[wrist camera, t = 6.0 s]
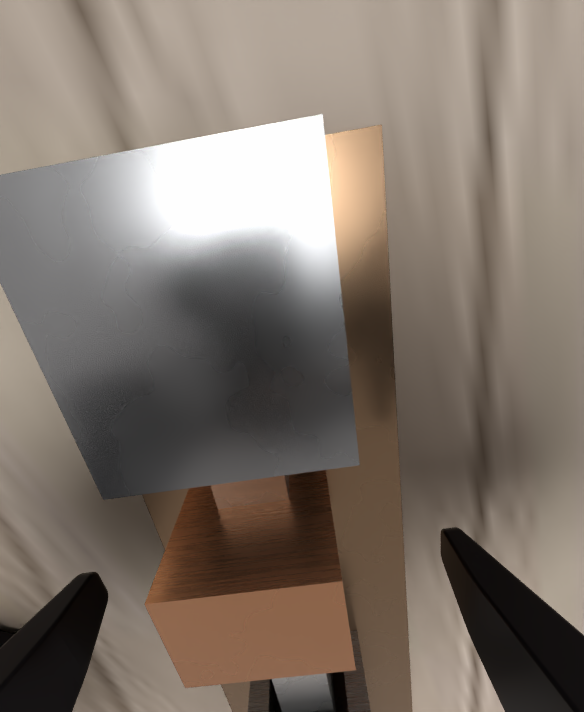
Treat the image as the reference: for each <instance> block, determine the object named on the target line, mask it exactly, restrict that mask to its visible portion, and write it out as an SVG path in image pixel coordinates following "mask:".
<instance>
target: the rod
mask: <svg viewBox="0 0 584 712" xmlns="http://www.w3.org/2000/svg"><path fill="white" fill-rule="evenodd" d="M145 606H146V609H147V611H148V613H149V615H150V617H151V619H152V621H153V623H154V625H155V627H156V629H157V631H158V633H159V635H160V637H161V639H162V641H163V643H164V645H165V647H166V649H167V651H168V653H169V656H170V658H171V660H172V662H173V664H174V666H175V668H176V670H177V672H178V674H179V676H180V678H181V680H182V682H183V684H184V686H185V688H189V687H199V686H209V685H218V684H228V683H238V682H247V681H257V680H267V679H272V682H273V685H274V688H275V691H276V694H277V698H278V701H279V704H280V707H281V710H282V712H336V705H335V695H334V685H333V674H332V673H334V672H344V671H353V670H356V667H355V661H354V654H353V647H352V641H351V634H350V627H349V621H348V614H347V608H346V601H345V594H344V588H343V581H342V574H341V568H340V561H339V554H338V548H337V541H336V535H335V528H334V521H333V515H332V508H331V502H330V495H329V489H328V482H327V476H326V470H321V471H313V472H306V473H299V474H291V475H284V476H276V477H269V478H261V479H254V480H246V481H239V482H232V483H224V484H217V485H209V486H202V487H194V488H189V489H188V492H187V495H186V497H185V500H184V503H183V505H182V508H181V510H180V513H179V516H178V518H177V521H176V523H175V526H174V529H173V531H172V534H171V536H170V539H169V542H168V544H167V547H166V550H165V552H164V555H163V557H162V560H161V563H160V565H159V568H158V570H157V573H156V576H155V578H154V581H153V584H152V586H151V589H150V591H149V594H148V597H147V599H146V602H145Z"/></svg>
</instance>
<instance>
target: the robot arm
mask: <svg viewBox="0 0 584 712" xmlns="http://www.w3.org/2000/svg"><path fill="white" fill-rule="evenodd" d="M441 557H442V561H443V564H444V567H445V569H446V572H447V575H448V578H449V580H450V583H451V586H452V589H453V591H454V594H455V597H456V600H457V602H458V605H459V608H460V611H461V614H462V616H463V619H464V622H465V624H466V627H467V630H468V632H469V635H470V637H471V639H472V641H473V644H474V646H475V648H476V650H477V652H478V655H479V657H480V659H481V661H482V663H483V665H484V667H485V670H486V672H487V674H488V676H489V678H490V680H491V682H492V685H493V687H494V689H495V691H496V693H497V695H498V697H499V700H500V702H501V704H502V706H503V708H504V710H505V712H584V635H583V634H582V633H580V632H579V631H578V630H577V629H576V628H575V627H573V626H572V625H571V624H570V623H569V622H568V621H567V620H565V619H564V618H563V617H562V616H561V615H560V614H558V613H557V612H556V611H555V610H554V609H553V608H551V607H550V606H549V605H548V604H547V603H546V602H544V601H543V600H542V599H541V598H540V597H539V596H537V595H536V594H535V593H534V592H533V591H532V590H531V589H529V588H528V587H527V586H526V585H525V584H524V583H522V582H521V581H520V580H519V579H518V578H517V577H515V576H514V575H513V574H512V573H511V572H510V571H508V570H507V569H506V568H505V567H504V566H503V565H501V564H500V563H499V562H498V561H497V560H496V559H495V558H493V557H492V556H491V555H490V554H489V553H488V552H486V551H485V550H484V549H483V548H482V547H481V546H479V545H478V544H477V543H476V542H475V541H474V540H472V539H471V538H470V537H469V536H468V535H467V534H465V533H464V532H463V531H462V530H461V529H459V528H456V527H454V528H446V529H442V531H441ZM107 602H108V591H107V589H106V587H105V585H104V584H103V582H102V580H101V578H100V576H99V574H98V573H96V572H89V573H82V574H80V575H78V576H77V577H76V578H74V579H73V580H72V581H71V582H70V583H69V584H68V585H67V586H66V587H65V588H64V589H63V590H62V591H61V592H59V593H58V594H57V595H56V596H55V597H54V598H53V599H52V600H51V601H50V602H49V603H48V604H47V605H46V606H44V607H43V608H42V609H41V610H40V611H39V612H38V613H37V614H36V615H35V616H34V617H33V618H32V619H31V620H29V621H28V622H27V623H26V624H25V625H24V626H23V627H22V628H21V629H20V630H19V631H18V632H17V633H16V634H12V633H7V632H2V631H0V712H72V710H73V708H74V705H75V702H76V700H77V697H78V694H79V692H80V689H81V686H82V684H83V681H84V678H85V675H86V672H87V669H88V666H89V663H90V660H91V656H92V653H93V650H94V646H95V643H96V640H97V636H98V633H99V629H100V626H101V623H102V619H103V616H104V612H105V609H106V606H107Z"/></svg>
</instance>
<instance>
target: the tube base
mask: <svg viewBox="0 0 584 712" xmlns="http://www.w3.org/2000/svg"><path fill="white" fill-rule="evenodd" d="M0 283H1V285H2V288H3V290H4V292H5V294H6V296H7V298H8V300H9V302H10V304H11V306H12V309H13V311H14V313H15V315H16V317H17V319H18V321H19V323H20V325H21V328H22V330H23V332H24V334H25V336H26V338H27V340H28V342H29V344H30V346H31V349H32V351H33V353H34V355H35V357H36V359H37V361H38V363H39V365H40V368H41V370H42V372H43V374H44V376H45V378H46V380H47V382H48V384H49V386H50V389H51V391H52V393H53V395H54V397H55V399H56V401H57V403H58V405H59V408H60V410H61V412H62V414H63V416H64V418H65V420H66V422H67V424H68V426H69V429H70V431H71V433H72V435H73V437H74V439H75V441H76V443H77V445H78V448H79V450H80V452H81V454H82V456H83V458H84V460H85V462H86V464H87V466H88V469H89V471H90V473H91V475H92V477H93V479H94V481H95V483H96V485H97V488H98V490H99V492H100V494H101V496H102V498H103V500H105V499H113V498H120V497H127V496H135V495H142V496H143V498H144V501H145V503H146V506H147V508H148V510H149V513H150V515H151V518H152V520H153V522H154V525H155V527H156V530H157V532H158V534H159V537H160V539H161V542H162V544H163V546H164V549H165V550H166V547H167V544H168V542H169V539H170V536H171V534H172V531H173V529H174V526H175V523H176V521H177V518H178V516H179V513H180V510H181V508H182V505H183V503H184V500H185V497H186V495H187V492H188V489H189V488H194V487H202V486H209V485H217V484H224V483H232V482H239V481H246V480H254V479H261V478H269V477H276V476H284V475H291V474H299V473H306V472H313V471H321V470H326V476H327V482H328V489H329V495H330V502H331V508H332V515H333V521H334V528H335V535H336V541H337V548H338V554H339V561H340V568H341V574H342V581H343V588H344V594H345V601H346V608H347V614H348V621H349V627H350V634H351V641H352V647H353V654H354V661H355V667H356V670H353V671H344V672H334V673H332V674H333V685H334V695H335V705H336V712H412V696H411V677H410V658H409V639H408V619H407V600H406V581H405V562H404V543H403V524H402V505H401V486H400V466H399V447H398V428H397V409H396V390H395V371H394V352H393V333H392V314H391V294H390V275H389V256H388V237H387V218H386V199H385V180H384V161H383V141H382V125H377V126H371V127H366V128H361V129H355V130H350V131H344V132H339V133H334V134H328V135H325V133H324V123H323V114H321V115H316V116H310V117H305V118H300V119H294V120H289V121H284V122H278V123H273V124H268V125H262V126H257V127H252V128H247V129H241V130H236V131H231V132H225V133H220V134H215V135H209V136H204V137H199V138H193V139H188V140H183V141H178V142H172V143H167V144H162V145H156V146H151V147H146V148H140V149H135V150H130V151H124V152H119V153H114V154H109V155H103V156H98V157H93V158H87V159H82V160H77V161H71V162H66V163H61V164H55V165H50V166H45V167H40V168H34V169H29V170H24V171H18V172H13V173H8V174H2V175H0ZM221 685H222V688H223V690H224V693H225V695H226V697H227V700H228V702H229V705H230V707H231V709H232V712H282V710H281V707H280V704H279V701H278V698H277V694H276V691H275V688H274V685H273V682H272V679H267V680H257V681H247V682H238V683H228V684H221Z"/></svg>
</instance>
